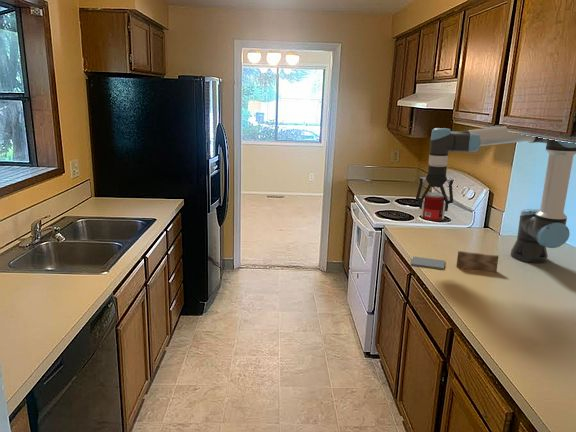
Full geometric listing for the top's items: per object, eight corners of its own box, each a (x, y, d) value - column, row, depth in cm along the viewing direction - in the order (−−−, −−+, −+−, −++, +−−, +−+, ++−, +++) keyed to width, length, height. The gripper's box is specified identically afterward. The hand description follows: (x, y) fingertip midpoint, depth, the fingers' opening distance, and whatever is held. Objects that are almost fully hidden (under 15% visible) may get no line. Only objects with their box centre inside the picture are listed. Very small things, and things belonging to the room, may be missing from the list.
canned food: (443, 221, 186) (445, 196, 183) (423, 220, 187) (426, 195, 184) (440, 217, 193) (443, 192, 190) (422, 216, 194) (424, 191, 192)
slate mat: (444, 262, 197) (445, 260, 197) (443, 269, 188) (443, 267, 188) (413, 258, 202) (413, 256, 202) (410, 265, 193) (410, 263, 193)
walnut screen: (496, 270, 187) (498, 255, 185) (496, 272, 186) (498, 256, 184) (456, 265, 193) (458, 250, 191) (456, 266, 191) (458, 251, 190)
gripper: (464, 165, 184) (458, 217, 189) (413, 162, 191) (409, 212, 197) (463, 168, 177) (457, 221, 183) (411, 164, 185) (407, 216, 190)
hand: (432, 217), depth 190 cm, fingers closed on canned food, 8 cm apart
